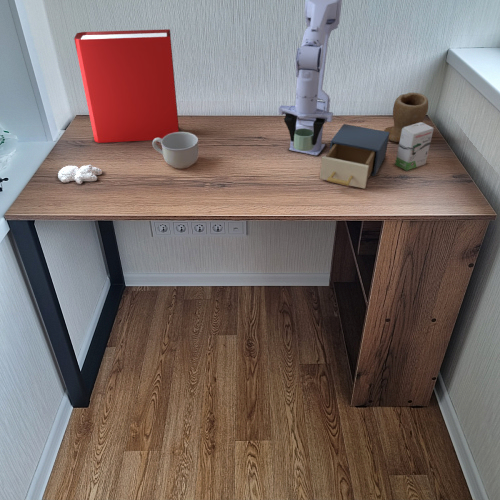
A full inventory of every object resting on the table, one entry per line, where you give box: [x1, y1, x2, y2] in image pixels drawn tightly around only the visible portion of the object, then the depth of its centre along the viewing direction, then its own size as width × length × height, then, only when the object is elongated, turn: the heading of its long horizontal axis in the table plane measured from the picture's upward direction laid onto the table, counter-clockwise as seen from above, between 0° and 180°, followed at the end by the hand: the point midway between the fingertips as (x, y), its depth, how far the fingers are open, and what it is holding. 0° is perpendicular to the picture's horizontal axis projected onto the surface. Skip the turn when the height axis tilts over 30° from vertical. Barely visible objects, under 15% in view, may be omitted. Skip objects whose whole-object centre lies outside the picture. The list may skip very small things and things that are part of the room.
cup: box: [293, 128, 314, 151], centre depth 141 cm, size 6×6×4 cm
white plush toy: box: [57, 164, 103, 185], centre depth 146 cm, size 9×12×3 cm
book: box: [73, 28, 180, 144], centre depth 159 cm, size 27×8×32 cm, turn 97°
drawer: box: [319, 144, 376, 189], centre depth 143 cm, size 17×13×7 cm
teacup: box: [151, 131, 199, 170], centre depth 151 cm, size 14×11×8 cm
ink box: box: [394, 122, 435, 172], centre depth 149 cm, size 9×5×12 cm, turn 123°
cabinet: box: [329, 123, 390, 177], centre depth 152 cm, size 13×14×8 cm
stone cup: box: [383, 91, 429, 143], centre depth 162 cm, size 15×12×15 cm
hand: (303, 141), depth 141 cm, fingers closed on cup, 5 cm apart
